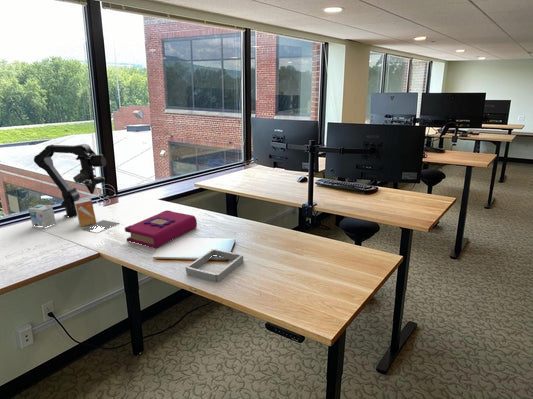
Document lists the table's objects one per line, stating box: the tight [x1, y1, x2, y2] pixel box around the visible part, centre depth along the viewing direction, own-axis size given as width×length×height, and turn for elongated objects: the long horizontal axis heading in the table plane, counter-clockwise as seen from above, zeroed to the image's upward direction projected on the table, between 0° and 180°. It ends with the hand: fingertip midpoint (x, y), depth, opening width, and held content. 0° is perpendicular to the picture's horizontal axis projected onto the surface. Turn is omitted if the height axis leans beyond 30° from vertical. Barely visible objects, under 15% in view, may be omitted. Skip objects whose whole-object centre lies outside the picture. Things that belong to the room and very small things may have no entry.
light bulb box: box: [28, 204, 57, 227], centre depth 209 cm, size 11×7×11 cm, turn 68°
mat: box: [81, 219, 120, 232], centre depth 205 cm, size 13×14×1 cm
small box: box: [74, 198, 97, 227], centre depth 207 cm, size 8×6×13 cm
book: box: [124, 210, 198, 249], centre depth 189 cm, size 21×28×8 cm
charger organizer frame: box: [185, 248, 244, 283], centre depth 154 cm, size 16×18×3 cm
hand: (92, 193), depth 219 cm, fingers closed
